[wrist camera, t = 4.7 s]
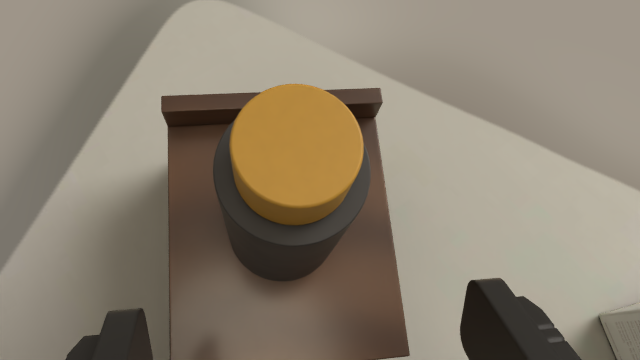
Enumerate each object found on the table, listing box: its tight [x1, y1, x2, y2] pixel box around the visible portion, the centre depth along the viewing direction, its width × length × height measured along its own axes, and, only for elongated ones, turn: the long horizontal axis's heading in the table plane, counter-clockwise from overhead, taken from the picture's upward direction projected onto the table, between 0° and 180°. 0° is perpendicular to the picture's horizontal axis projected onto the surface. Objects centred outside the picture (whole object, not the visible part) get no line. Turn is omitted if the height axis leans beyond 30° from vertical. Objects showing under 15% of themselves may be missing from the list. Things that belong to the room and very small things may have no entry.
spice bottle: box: [213, 84, 371, 281], centre depth 18 cm, size 5×5×10 cm
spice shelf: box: [161, 88, 410, 360], centre depth 25 cm, size 12×10×8 cm
